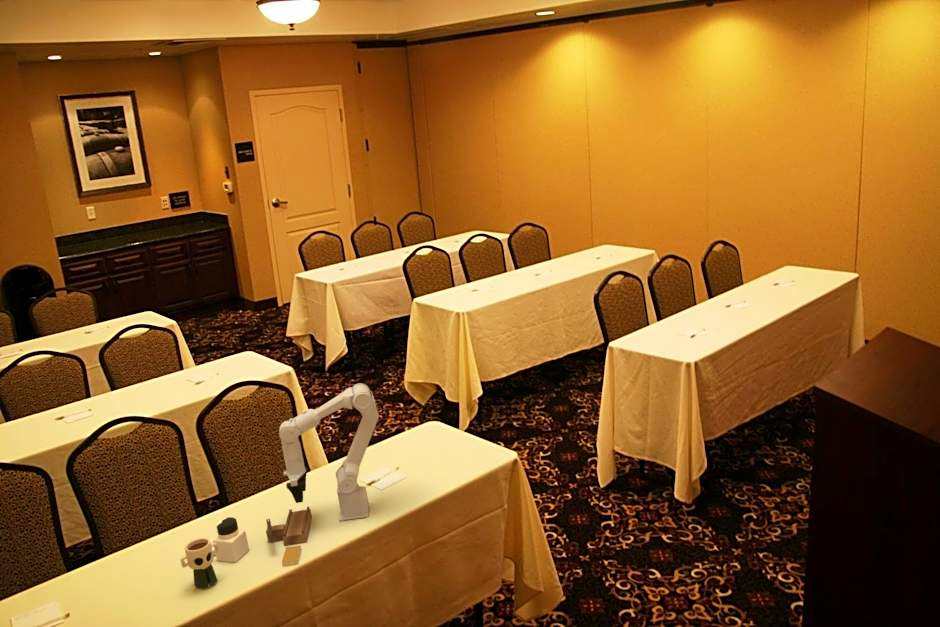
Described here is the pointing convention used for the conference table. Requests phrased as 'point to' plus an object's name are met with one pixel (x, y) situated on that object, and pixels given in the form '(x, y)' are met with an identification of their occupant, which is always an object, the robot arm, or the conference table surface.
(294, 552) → the wooden block
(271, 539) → the lever
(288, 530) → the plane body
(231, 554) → the medicine bottle
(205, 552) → the character mug
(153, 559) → the conference table surface
